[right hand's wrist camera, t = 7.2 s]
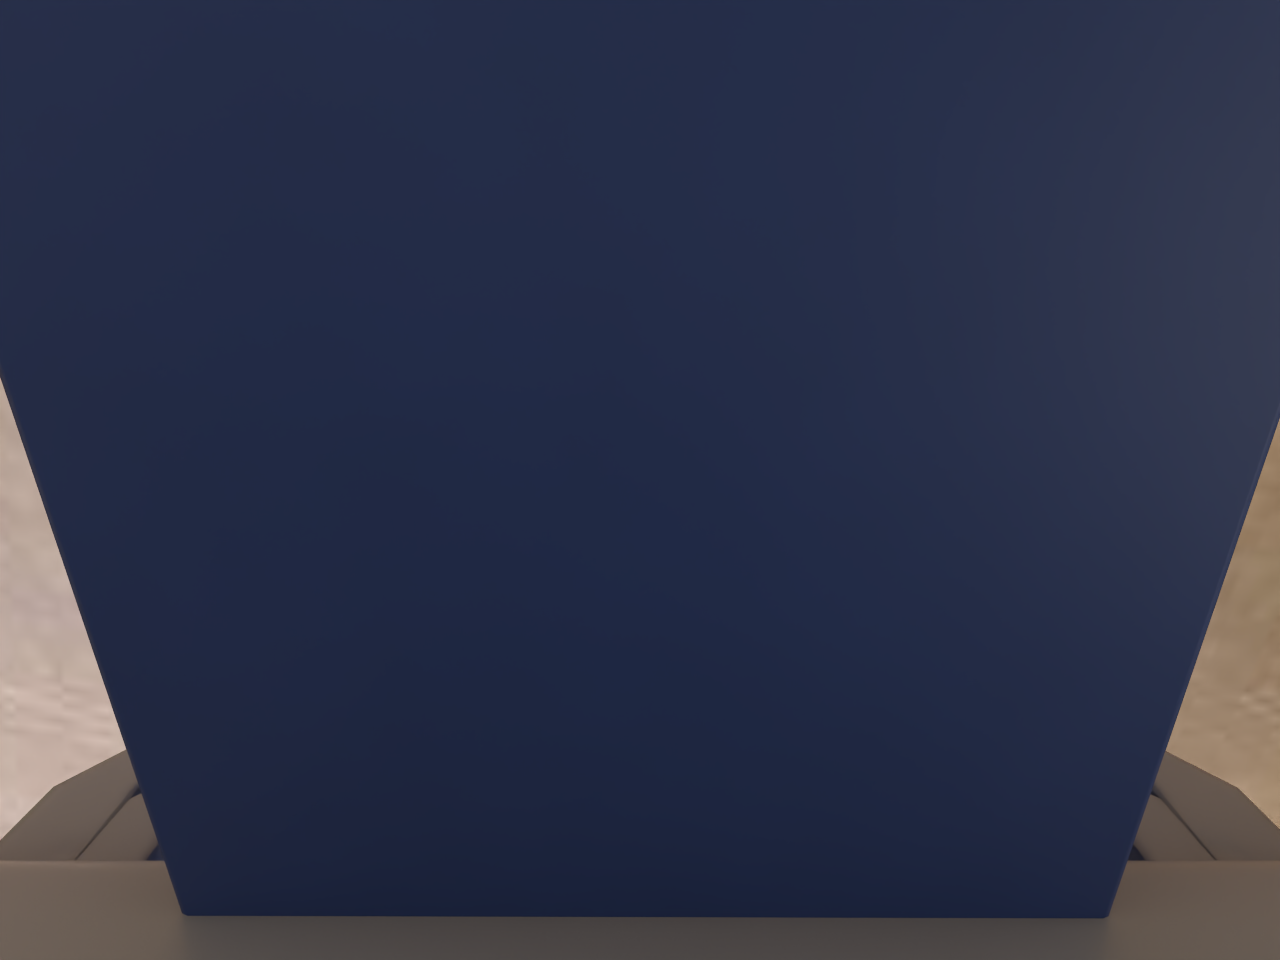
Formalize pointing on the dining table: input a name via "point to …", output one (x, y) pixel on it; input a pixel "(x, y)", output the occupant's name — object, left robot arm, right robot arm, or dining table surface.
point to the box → (643, 434)
